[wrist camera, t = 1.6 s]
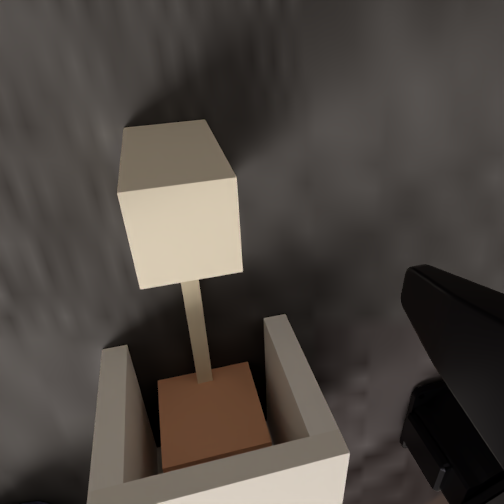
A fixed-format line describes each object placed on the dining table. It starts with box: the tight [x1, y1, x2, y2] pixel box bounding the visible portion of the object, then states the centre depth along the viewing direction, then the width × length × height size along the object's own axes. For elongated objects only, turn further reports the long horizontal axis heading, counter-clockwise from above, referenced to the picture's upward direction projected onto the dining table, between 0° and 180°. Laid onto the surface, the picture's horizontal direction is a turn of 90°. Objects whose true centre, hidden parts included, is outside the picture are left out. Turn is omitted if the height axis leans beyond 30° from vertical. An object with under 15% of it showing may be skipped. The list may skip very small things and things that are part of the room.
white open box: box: [87, 314, 350, 504], centre depth 20 cm, size 9×10×8 cm
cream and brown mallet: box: [117, 119, 272, 473], centre depth 18 cm, size 5×18×6 cm, turn 2°
